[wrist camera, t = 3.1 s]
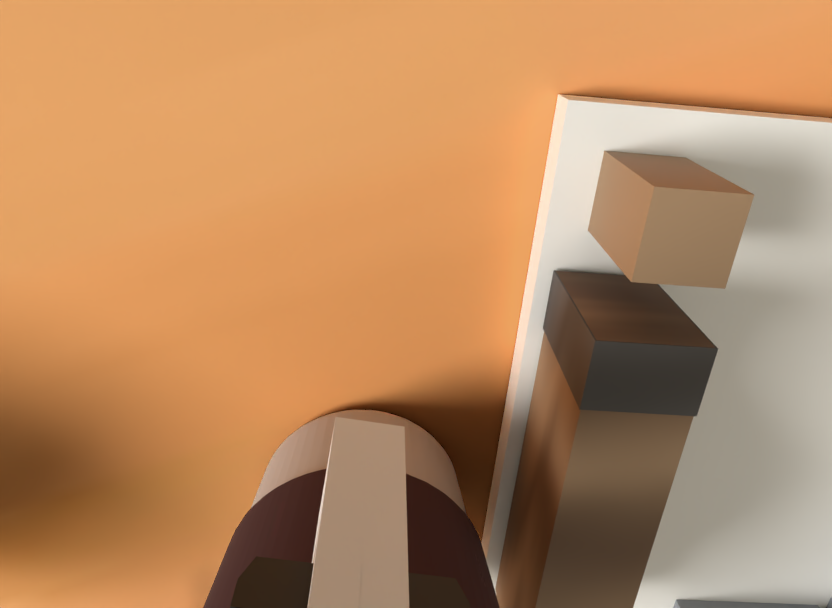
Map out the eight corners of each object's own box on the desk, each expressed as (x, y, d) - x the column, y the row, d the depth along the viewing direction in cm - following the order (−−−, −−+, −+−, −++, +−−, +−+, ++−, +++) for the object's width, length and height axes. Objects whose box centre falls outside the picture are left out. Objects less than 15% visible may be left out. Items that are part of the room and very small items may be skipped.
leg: (570, 591, 26) (609, 721, 21) (493, 587, 26) (515, 718, 21) (652, 277, 20) (729, 359, 16) (553, 270, 20) (601, 351, 15)
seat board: (558, 93, 19) (611, 124, 14) (1066, 138, 20) (1271, 180, 15) (468, 620, 28) (482, 744, 24) (821, 633, 29) (902, 754, 25)
